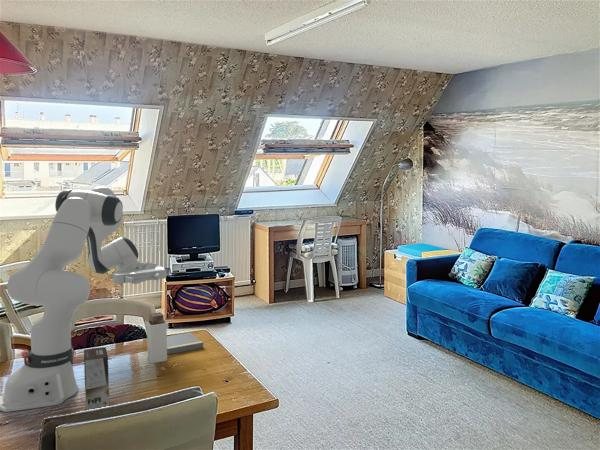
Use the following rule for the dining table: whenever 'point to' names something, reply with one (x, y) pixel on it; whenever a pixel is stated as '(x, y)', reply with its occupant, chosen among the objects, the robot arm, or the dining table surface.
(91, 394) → the coffee box
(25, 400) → the robot arm
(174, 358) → the dining table surface
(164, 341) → the white tall block
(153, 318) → the block
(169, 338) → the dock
